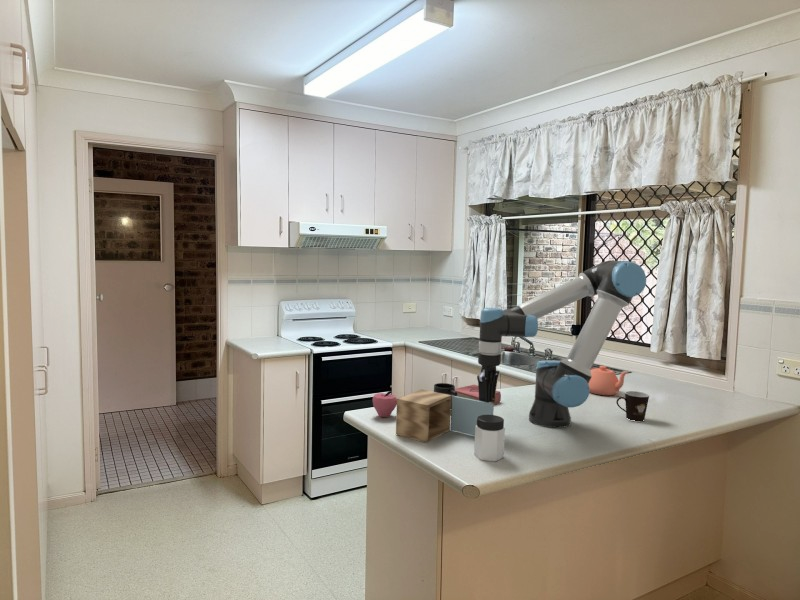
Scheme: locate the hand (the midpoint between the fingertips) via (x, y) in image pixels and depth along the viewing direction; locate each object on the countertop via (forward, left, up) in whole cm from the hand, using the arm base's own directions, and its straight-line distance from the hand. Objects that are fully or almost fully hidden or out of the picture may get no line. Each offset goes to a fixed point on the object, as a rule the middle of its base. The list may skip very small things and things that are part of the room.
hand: (485, 420), depth 193 cm
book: (+20, -34, -5) cm, 40 cm away
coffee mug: (-37, -52, -5) cm, 64 cm away
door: (+3, +6, -4) cm, 8 cm away
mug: (+24, -15, -5) cm, 28 cm away
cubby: (+17, +13, -5) cm, 22 cm away
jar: (-10, +19, -5) cm, 22 cm away
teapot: (-18, -86, -5) cm, 88 cm away
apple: (+38, +7, -5) cm, 39 cm away
